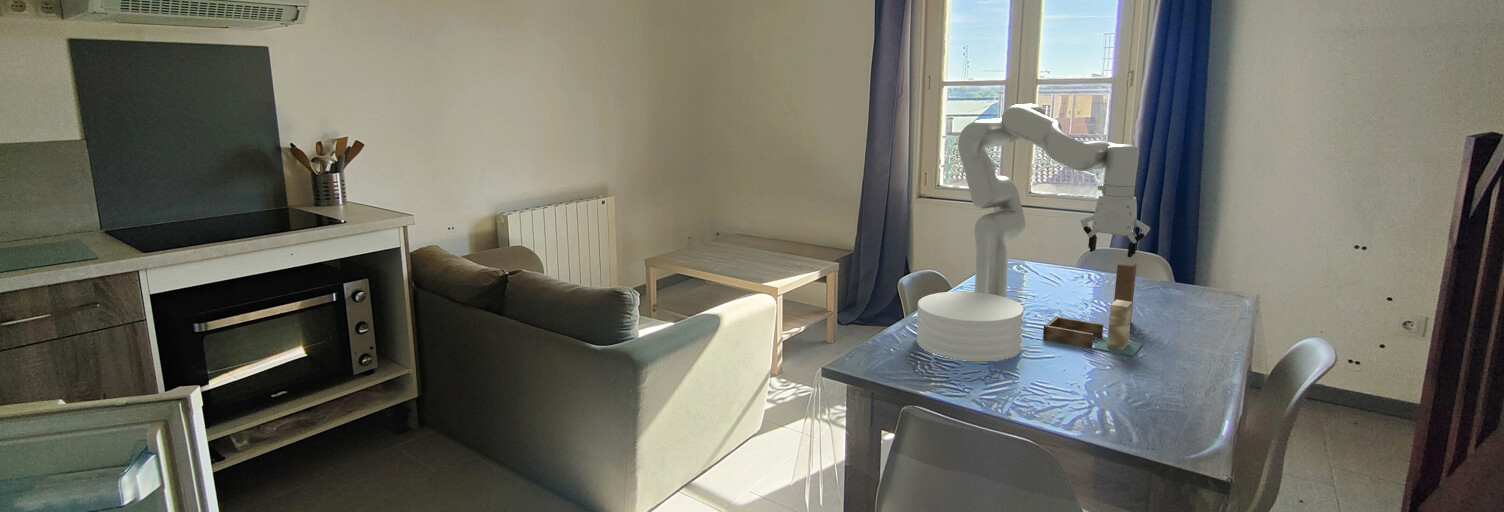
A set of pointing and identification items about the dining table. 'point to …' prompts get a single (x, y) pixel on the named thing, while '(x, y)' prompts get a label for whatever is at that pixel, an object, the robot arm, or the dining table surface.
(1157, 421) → the dining table surface
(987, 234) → the robot arm
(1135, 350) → the mat
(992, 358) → the plate stack
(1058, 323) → the crate
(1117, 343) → the birch block
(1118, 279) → the wooden block
